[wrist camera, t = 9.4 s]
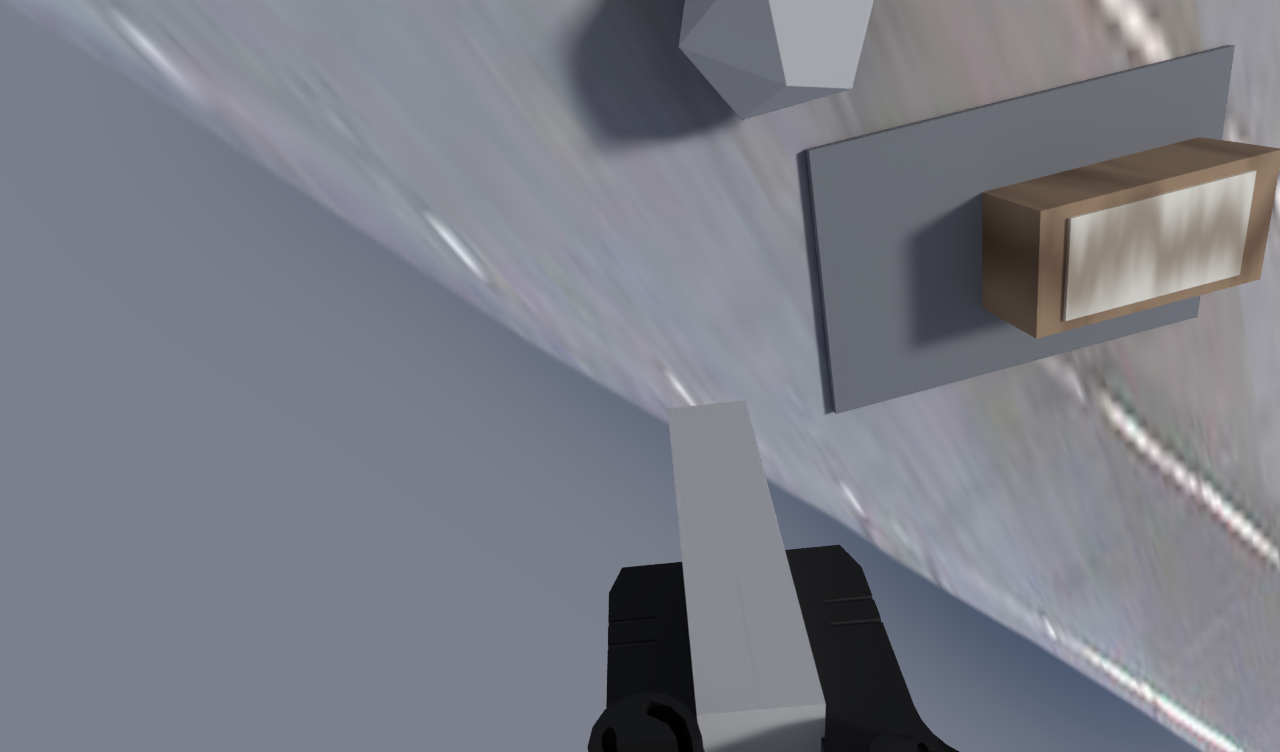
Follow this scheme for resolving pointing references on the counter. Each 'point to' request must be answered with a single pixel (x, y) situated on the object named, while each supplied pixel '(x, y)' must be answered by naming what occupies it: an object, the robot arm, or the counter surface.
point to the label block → (1126, 234)
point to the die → (774, 49)
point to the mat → (975, 222)
